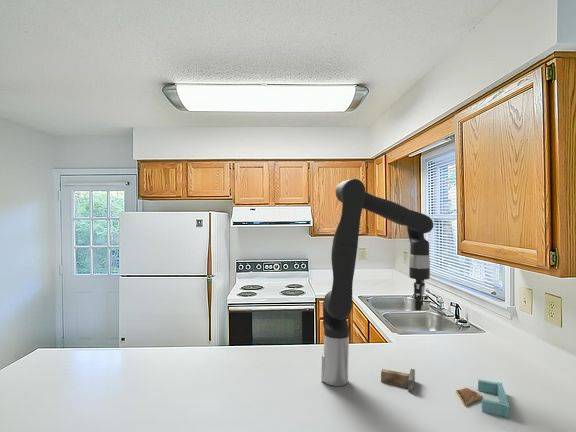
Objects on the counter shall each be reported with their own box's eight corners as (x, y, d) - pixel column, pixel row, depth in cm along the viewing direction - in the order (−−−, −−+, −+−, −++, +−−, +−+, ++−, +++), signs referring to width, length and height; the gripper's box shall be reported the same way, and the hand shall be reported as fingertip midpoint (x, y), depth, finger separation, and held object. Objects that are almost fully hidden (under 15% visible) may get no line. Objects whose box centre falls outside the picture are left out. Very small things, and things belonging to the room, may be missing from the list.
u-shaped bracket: (482, 412, 116) (482, 401, 116) (477, 388, 133) (478, 378, 133) (509, 418, 113) (509, 406, 113) (501, 392, 130) (501, 382, 130)
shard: (465, 408, 120) (465, 403, 120) (444, 398, 126) (444, 393, 126) (483, 400, 125) (484, 395, 125) (463, 390, 132) (463, 385, 132)
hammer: (379, 386, 133) (379, 374, 133) (383, 375, 142) (383, 363, 142) (412, 393, 129) (412, 380, 129) (414, 381, 138) (414, 369, 138)
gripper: (411, 263, 151) (411, 302, 151) (407, 268, 138) (407, 310, 138) (430, 264, 148) (430, 304, 148) (428, 269, 135) (428, 313, 135)
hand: (419, 307), depth 143 cm, fingers open, 8 cm apart
